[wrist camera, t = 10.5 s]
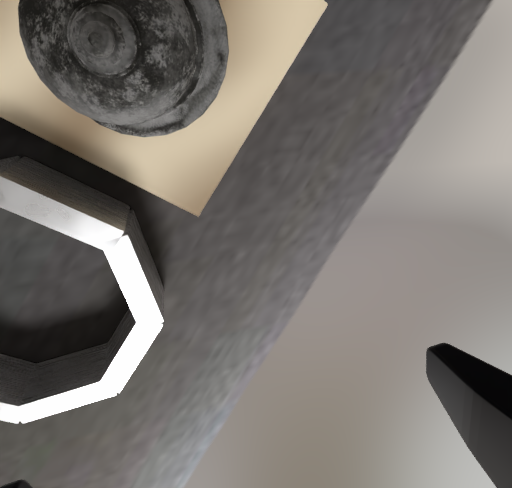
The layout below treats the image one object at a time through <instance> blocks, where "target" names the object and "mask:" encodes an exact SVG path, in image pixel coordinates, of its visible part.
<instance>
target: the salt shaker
mask: <svg viewBox="0 0 512 488" xmlns="http://www.w3.org/2000/svg"><path fill="white" fill-rule="evenodd" d="M18 17H19V33H20V36H21V39H22V42H23V45H24V49H25V52H26V55H27V58H28V60H29V61H30V63H31V65H32V66H33V68H34V70H35V71H36V73H37V75H38V76H39V78H40V80H41V81H42V82H43V83H44V84H45V85H46V86H47V87H48V89H49V90H50V91H51V92H52V93H53V94H54V95H55V96H56V97H57V98H58V99H59V100H61V101H62V102H63V103H65V104H66V105H68V106H69V107H70V108H72V109H73V110H75V111H76V112H78V113H80V114H82V115H85V116H87V117H89V118H91V119H92V120H94V121H95V122H96V123H98V124H99V125H101V126H104V127H106V128H109V129H111V130H113V131H116V132H118V133H121V134H125V135H132V136H138V137H153V136H163V135H168V134H170V133H173V132H176V131H178V130H181V129H183V128H186V127H187V126H189V125H190V124H191V123H193V122H194V121H195V120H197V119H198V118H199V117H201V116H202V115H203V114H204V113H205V111H206V110H207V109H208V108H209V106H210V105H211V104H212V102H213V101H214V100H215V98H216V97H217V95H218V92H219V90H220V88H221V85H222V83H223V80H224V78H225V75H226V68H227V62H228V55H229V45H228V34H227V24H226V21H225V18H224V15H223V12H222V9H221V6H220V3H219V0H19V5H18Z"/></svg>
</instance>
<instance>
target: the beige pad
mask: <svg viewBox="0 0 512 488" xmlns="http://www.w3.org/2000/svg"><path fill="white" fill-rule="evenodd" d="M219 3H220V6H221V9H222V12H223V15H224V18H225V21H226V24H227V34H228V45H229V55H228V62H227V68H226V75H225V78H224V80H223V83H222V85H221V88H220V90H219V92H218V95H217V97H216V98H215V100H214V101H213V102H212V104H211V105H210V106H209V108H208V109H207V110H206V111H205V113H204V114H203V115H202V116H201V117H199V118H198V119H197V120H195V121H194V122H193V123H191V124H190V125H189V126H187V127H186V128H183V129H181V130H178V131H176V132H173V133H170V134H168V135H163V136H153V137H138V136H132V135H125V134H121V133H118V132H116V131H113V130H111V129H109V128H106V127H104V126H101V125H99V124H98V123H96V122H95V121H94V120H92V119H91V118H89V117H87V116H85V115H82V114H80V113H78V112H76V111H75V110H73V109H72V108H70V107H69V106H68V105H66V104H65V103H63V102H62V101H61V100H59V99H58V98H57V97H56V96H55V95H54V94H53V93H52V92H51V91H50V90H49V89H48V87H47V86H46V85H45V84H44V83H43V82H42V81H41V80H40V78H39V76H38V75H37V73H36V71H35V70H34V68H33V66H32V65H31V63H30V61H29V60H28V58H27V55H26V52H25V49H24V45H23V42H22V39H21V36H20V33H19V17H18V5H19V0H0V117H2V118H4V119H5V120H7V121H9V122H11V123H13V124H15V125H17V126H19V127H21V128H23V129H25V130H27V131H29V132H31V133H33V134H35V135H37V136H39V137H41V138H43V139H45V140H47V141H49V142H51V143H53V144H55V145H57V146H59V147H61V148H63V149H65V150H67V151H69V152H71V153H73V154H75V155H77V156H79V157H81V158H83V159H85V160H87V161H89V162H91V163H93V164H95V165H97V166H99V167H101V168H103V169H105V170H107V171H109V172H111V173H113V174H115V175H117V176H119V177H121V178H123V179H125V180H127V181H129V182H130V183H132V184H134V185H136V186H138V187H140V188H142V189H144V190H146V191H148V192H150V193H152V194H154V195H156V196H158V197H160V198H162V199H164V200H166V201H168V202H170V203H172V204H174V205H176V206H178V207H180V208H182V209H184V210H186V211H188V212H190V213H192V214H194V215H196V216H199V215H200V213H201V211H202V210H203V208H204V206H205V205H206V203H207V201H208V200H209V198H210V197H211V195H212V193H213V192H214V190H215V188H216V187H217V185H218V184H219V182H220V180H221V179H222V177H223V175H224V174H225V172H226V170H227V169H228V167H229V166H230V164H231V162H232V161H233V159H234V157H235V156H236V154H237V152H238V151H239V149H240V148H241V146H242V144H243V143H244V141H245V139H246V138H247V136H248V134H249V133H250V131H251V130H252V128H253V126H254V125H255V123H256V121H257V120H258V118H259V116H260V115H261V113H262V112H263V110H264V108H265V107H266V105H267V103H268V102H269V100H270V99H271V97H272V95H273V94H274V92H275V90H276V89H277V87H278V85H279V84H280V82H281V81H282V79H283V77H284V76H285V74H286V72H287V71H288V69H289V67H290V66H291V64H292V63H293V61H294V59H295V58H296V56H297V54H298V53H299V51H300V49H301V48H302V46H303V45H304V43H305V41H306V40H307V38H308V36H309V35H310V33H311V31H312V30H313V28H314V27H315V25H316V23H317V22H318V20H319V18H320V17H321V15H322V14H323V12H324V10H325V9H326V7H327V5H328V4H327V3H326V2H325V1H324V0H219Z"/></svg>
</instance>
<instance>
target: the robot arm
mask: <svg viewBox="0 0 512 488" xmlns="http://www.w3.org/2000/svg"><path fill="white" fill-rule="evenodd" d="M426 359H427V360H426V373H427V377H428V380H429V382H430V384H431V386H432V387H433V389H434V391H435V393H436V394H437V396H438V398H439V399H440V401H441V403H442V405H443V406H444V408H445V410H446V411H447V413H448V415H449V416H450V418H451V420H452V422H453V423H454V425H455V427H456V428H457V430H458V432H459V433H460V435H461V437H462V438H463V440H464V442H465V443H466V445H467V447H468V448H469V449H470V451H471V452H472V454H473V455H474V457H475V458H476V460H477V461H478V462H479V464H480V465H481V466H482V468H483V469H484V471H485V472H486V473H487V475H488V476H489V478H490V479H491V480H492V482H493V483H494V484H495V486H496V487H497V488H512V375H510V374H508V373H506V372H504V371H502V370H500V369H498V368H496V367H494V366H492V365H490V364H487V363H486V362H484V361H482V360H480V359H478V358H476V357H474V356H472V355H470V354H468V353H466V352H464V351H462V350H460V349H458V348H456V347H454V346H452V345H450V344H446V343H440V344H437V345H434V346H431V347H429V348H428V349H427V352H426ZM0 488H32V487H31V486H30V484H29V483H28V482H27V481H25V480H18V481H14V482H11V483H8V484H5V485H3V486H2V487H0Z"/></svg>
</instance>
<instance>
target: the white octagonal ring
mask: <svg viewBox="0 0 512 488" xmlns="http://www.w3.org/2000/svg"><path fill="white" fill-rule="evenodd" d="M0 207H1V208H3V209H6V210H8V211H11V212H13V213H15V214H18V215H20V216H23V217H25V218H27V219H30V220H32V221H35V222H37V223H39V224H42V225H44V226H47V227H49V228H51V229H54V230H56V231H59V232H61V233H63V234H66V235H68V236H71V237H73V238H75V239H78V240H80V241H83V242H85V243H87V244H90V245H92V246H95V247H97V248H99V249H102V250H103V251H104V253H105V255H106V257H107V259H108V261H109V264H110V266H111V268H112V270H113V272H114V274H115V277H116V279H117V281H118V283H119V285H120V287H121V290H122V292H123V294H124V296H125V298H126V301H127V303H128V305H129V309H128V310H127V312H126V314H125V315H124V317H123V319H122V320H121V322H120V324H119V325H118V327H117V329H116V330H115V332H114V334H113V335H112V337H111V339H110V340H109V342H108V343H105V344H102V345H98V346H95V347H92V348H88V349H85V350H81V351H78V352H74V353H71V354H68V355H64V356H61V357H57V358H54V359H50V360H47V361H44V362H40V363H37V364H36V363H32V362H29V361H25V360H21V359H18V358H14V357H11V356H7V355H3V354H0V420H2V421H7V422H12V423H16V424H18V423H19V421H21V422H22V423H26V422H30V421H33V420H36V419H40V418H43V417H46V416H49V415H53V414H56V413H59V412H63V411H66V410H69V409H72V408H76V407H79V406H82V405H86V404H89V403H92V402H95V401H99V400H102V399H105V398H109V397H112V396H115V395H116V393H117V392H118V393H120V391H121V390H122V388H123V387H124V385H125V384H126V382H127V380H128V379H129V377H130V376H131V374H132V373H133V371H134V370H135V368H136V366H137V365H138V363H139V362H140V360H141V359H142V357H143V356H144V354H145V352H146V351H147V349H148V348H149V346H150V345H151V343H152V342H153V340H154V338H155V337H156V335H157V334H158V332H159V331H160V329H161V328H162V326H163V321H164V287H163V284H162V282H161V279H160V276H159V274H158V271H157V269H156V266H155V264H154V261H153V259H152V256H151V253H150V251H149V248H148V246H147V243H146V241H145V238H144V236H143V233H142V230H141V228H140V225H139V223H138V220H137V218H136V215H135V213H134V210H133V209H132V210H129V209H130V206H129V205H127V204H125V203H123V202H121V201H118V200H116V199H114V198H112V197H110V196H108V195H106V194H104V193H102V192H100V191H98V190H95V189H93V188H91V187H89V186H87V185H85V184H83V183H81V182H79V181H77V180H75V179H72V178H70V177H68V176H66V175H64V174H62V173H60V172H58V171H56V170H54V169H52V168H49V167H47V166H45V165H43V164H41V163H39V162H37V161H35V160H33V159H31V158H28V157H26V156H24V157H23V158H21V157H20V155H18V156H14V157H10V158H6V159H2V160H0Z"/></svg>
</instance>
